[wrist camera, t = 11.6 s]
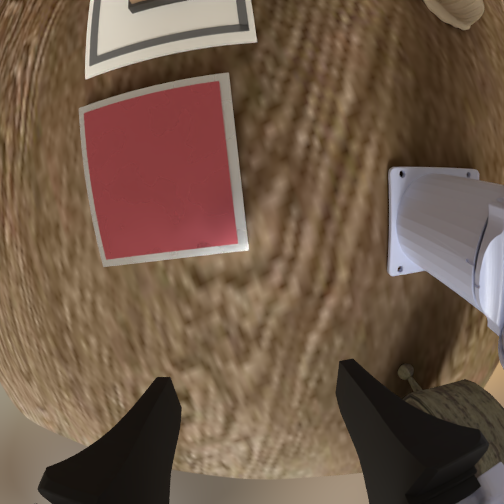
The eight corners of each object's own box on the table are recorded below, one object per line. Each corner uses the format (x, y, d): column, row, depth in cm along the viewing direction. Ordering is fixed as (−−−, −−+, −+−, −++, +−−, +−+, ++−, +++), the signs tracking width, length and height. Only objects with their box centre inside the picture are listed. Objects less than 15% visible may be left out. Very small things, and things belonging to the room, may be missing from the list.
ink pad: (229, 77, 15) (228, 70, 14) (248, 244, 19) (249, 252, 17) (87, 110, 15) (75, 107, 14) (110, 261, 19) (101, 269, 17)
